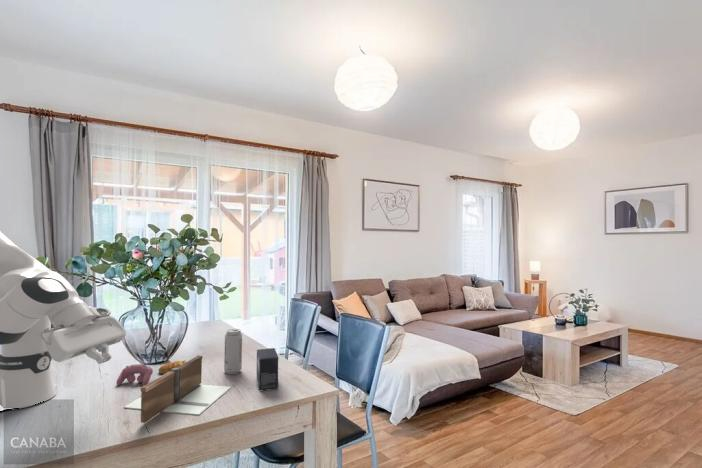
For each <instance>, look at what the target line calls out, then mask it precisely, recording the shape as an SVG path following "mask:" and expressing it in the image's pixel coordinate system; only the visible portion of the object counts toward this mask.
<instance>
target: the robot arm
mask: <svg viewBox="0 0 702 468" xmlns="http://www.w3.org/2000/svg"><path fill="white" fill-rule="evenodd" d="M111 313H112V311H111V310H110V309H109V308H107V307H95V306H90V305H88V304H87V303H86V302H85V301H84V300H82V299H81V298H80V296H79V293H78V291H77V290H76V288H74V286H73V285H72V284H71V283H70V282H69V281H68V279H66V278H65V277H64V276H63V275H61V274H60V273H58V272H56V271H54V270H52V269H50V268H48V267H47V266H46V265H44V264H43V263H41V262H40V261H39V260H38V259H37V258H35V257H33V256H32V255H31V254H29V253H28V252H26V251H25V250H24V249H22V248H21V247H19V246H18V245H16V244H15V243H14V242H13V241H12V240H11V239H10V238H8V237H7V236H6V235H5V234H4V233H3V232H2V231H1V230H0V345H1V347H0V349H1V351H0V405H1V406H2V407H3V408H19V409H23V408H28V407H33V406H35V404H36V405H38V403H39V404H41V403H44V402H46V401H49V400H51V399H52V398H53V397H55V396H56V394H57V390H56V389H57V388H58V387H57V383H55V377H54V376H55V375H54V368H53V367H54V366H53V363H52V361H55V362H58V363H61V362H64V361H67V360H70V359H74V358H77V357H79V356H82V355H85V356H87V358H90V359H92V360H94V361H96V363H97V364H98V365H101V364H104V363H106V362H108V361H110V360H112V355H111V354H110V352H109V351H110V350H109V346H112V345H115V344H117V343H120V342H121V341H122V340H123V339H124V338H125V337H126V336H127V335H126V334H127V331H126V329H125V328H124V327H123V325H122V324H121V323H120V321H119V320H118V319H117V318H116V317H114V316H112V315H111ZM43 401H44V402H43ZM40 402H41V403H40Z"/></svg>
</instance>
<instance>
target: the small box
mask: <svg viewBox="0 0 702 468" xmlns="http://www.w3.org/2000/svg"><path fill="white" fill-rule="evenodd" d="M256 381H257V386H258V390H263V391H268V390H267V389H271V390H275V389H274V388H278V389H279V355H278V353H277V350H276V349H275V347H271V348H261V349H256Z"/></svg>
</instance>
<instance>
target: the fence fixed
mask: <svg viewBox="0 0 702 468" xmlns="http://www.w3.org/2000/svg"><path fill="white" fill-rule="evenodd" d="M186 361H187V360H186ZM202 361H203V355H196V356H195V357H193V358H191V359H189V360H188V361H187V362H185V363H184V364H182V365H180V366H178V367H177V368H173V369H171V371H172V372H175V375H174V403H177V402H179V399H180V398H181V397H182V396H184V395H185V394H187V393H188V392H189V391H191V390H192V389H194V388H195V387H197V386H198V385H199V384H201V385H202V372H203V371H202V367H203V365H202V364H203V362H202Z"/></svg>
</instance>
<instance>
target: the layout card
mask: <svg viewBox="0 0 702 468" xmlns="http://www.w3.org/2000/svg"><path fill="white" fill-rule="evenodd" d="M230 389H232V386H226V385H225V386H223V385H210V384H202V383H201V384H199V385H198V386H197V387H195V388H194V389H192V390H191V391H189V392H188V393H187V394H185V395H184V396H182V397H181V398H180V399H179V402H177V403H172V404H171V405H170V406H168V407H167V408H165V409H164V410H163V411H161V412H162V413H170V414H171V413H173V414H183V415H192V416H200V415H201V414H202V413H204V412H205V411H206V410H207V409H208V408H210V407H211V406H212V405H213V404H214V403H215V402H216V401H217V400H219V399H220V398H221V397H223V396H224V394H226V393H227V392H228V391H229V390H230ZM123 408H124V409H129V410H130V409H131V410H140V411H141V396H140V397H139V398H137V399H135V400H133V401H132V402H130V403H129V404H127V405H125V406H123ZM161 412H160V413H161Z"/></svg>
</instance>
